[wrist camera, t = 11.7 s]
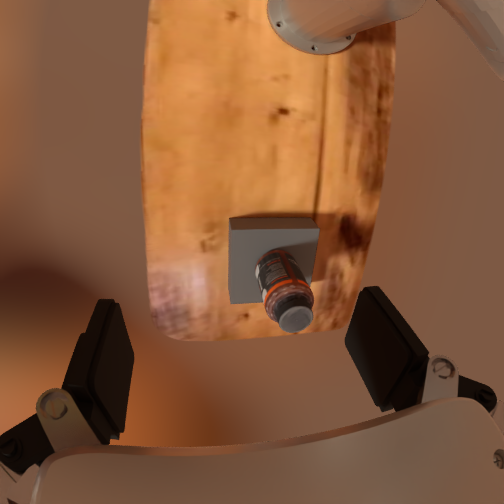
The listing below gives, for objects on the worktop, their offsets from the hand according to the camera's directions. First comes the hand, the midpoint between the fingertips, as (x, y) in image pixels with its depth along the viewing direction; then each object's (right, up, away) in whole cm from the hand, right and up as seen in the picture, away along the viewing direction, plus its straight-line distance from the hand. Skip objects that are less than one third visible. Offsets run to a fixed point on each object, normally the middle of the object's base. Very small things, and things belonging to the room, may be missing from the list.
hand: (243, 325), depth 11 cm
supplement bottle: (+4, +1, +31) cm, 31 cm away
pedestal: (+3, +2, +34) cm, 34 cm away
